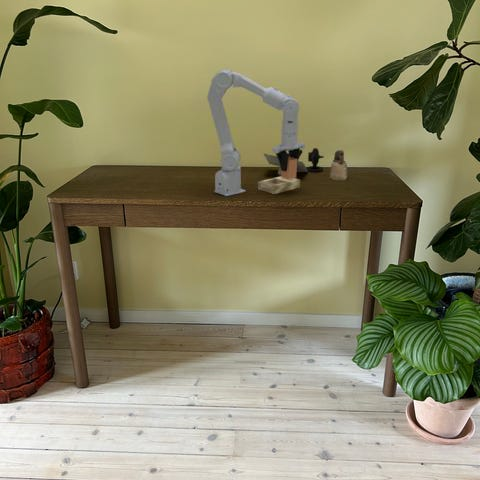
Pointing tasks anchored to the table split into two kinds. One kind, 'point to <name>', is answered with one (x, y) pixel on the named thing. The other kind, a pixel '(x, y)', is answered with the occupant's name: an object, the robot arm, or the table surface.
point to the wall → (275, 161)
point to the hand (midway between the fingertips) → (288, 169)
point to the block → (290, 169)
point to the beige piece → (278, 185)
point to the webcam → (314, 161)
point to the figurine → (338, 167)
